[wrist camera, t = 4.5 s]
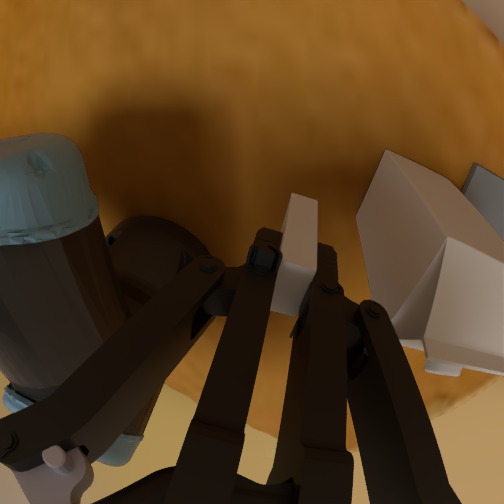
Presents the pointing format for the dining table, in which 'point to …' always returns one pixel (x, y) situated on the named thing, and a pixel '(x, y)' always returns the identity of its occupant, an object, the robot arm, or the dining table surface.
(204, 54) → the dining table surface
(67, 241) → the robot arm
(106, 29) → the dining table surface
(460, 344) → the milk carton
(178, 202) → the dining table surface
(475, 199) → the mat
